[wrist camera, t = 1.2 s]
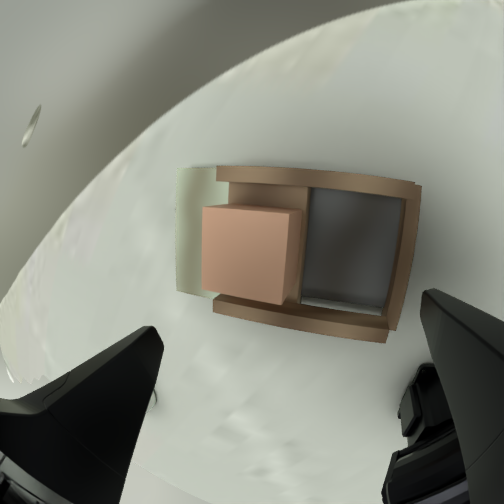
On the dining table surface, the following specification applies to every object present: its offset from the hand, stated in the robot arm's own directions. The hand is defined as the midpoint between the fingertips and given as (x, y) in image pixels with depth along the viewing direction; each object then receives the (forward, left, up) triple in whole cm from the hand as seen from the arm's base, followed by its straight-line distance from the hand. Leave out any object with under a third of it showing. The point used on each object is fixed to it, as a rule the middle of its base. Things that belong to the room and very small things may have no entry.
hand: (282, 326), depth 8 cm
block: (+4, 0, -10) cm, 11 cm away
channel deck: (+3, 0, -12) cm, 13 cm away
